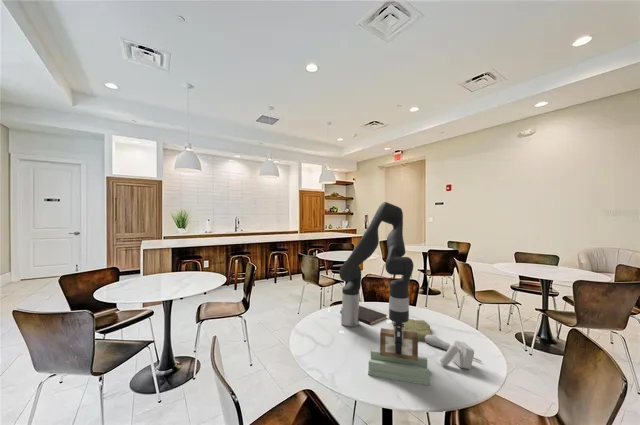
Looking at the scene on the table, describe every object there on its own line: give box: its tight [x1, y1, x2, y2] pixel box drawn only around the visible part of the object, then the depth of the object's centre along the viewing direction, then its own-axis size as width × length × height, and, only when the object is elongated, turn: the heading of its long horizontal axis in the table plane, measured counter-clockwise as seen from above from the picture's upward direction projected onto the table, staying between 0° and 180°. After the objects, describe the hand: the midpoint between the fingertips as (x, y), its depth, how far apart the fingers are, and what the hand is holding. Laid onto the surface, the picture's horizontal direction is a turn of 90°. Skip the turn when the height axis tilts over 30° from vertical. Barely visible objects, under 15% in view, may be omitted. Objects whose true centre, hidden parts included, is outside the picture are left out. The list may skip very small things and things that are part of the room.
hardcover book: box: [339, 305, 388, 326], centre depth 165 cm, size 16×23×2 cm
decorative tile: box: [391, 318, 433, 342], centre depth 144 cm, size 19×20×4 cm
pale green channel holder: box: [367, 349, 431, 386], centre depth 108 cm, size 22×12×4 cm, turn 73°
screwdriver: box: [424, 334, 482, 363], centre depth 124 cm, size 5×25×4 cm, turn 40°
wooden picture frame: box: [379, 327, 419, 361], centre depth 108 cm, size 14×4×9 cm, turn 74°
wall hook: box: [439, 340, 475, 370], centre depth 112 cm, size 8×10×10 cm
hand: (398, 350), depth 108 cm, fingers closed on wooden picture frame, 4 cm apart
